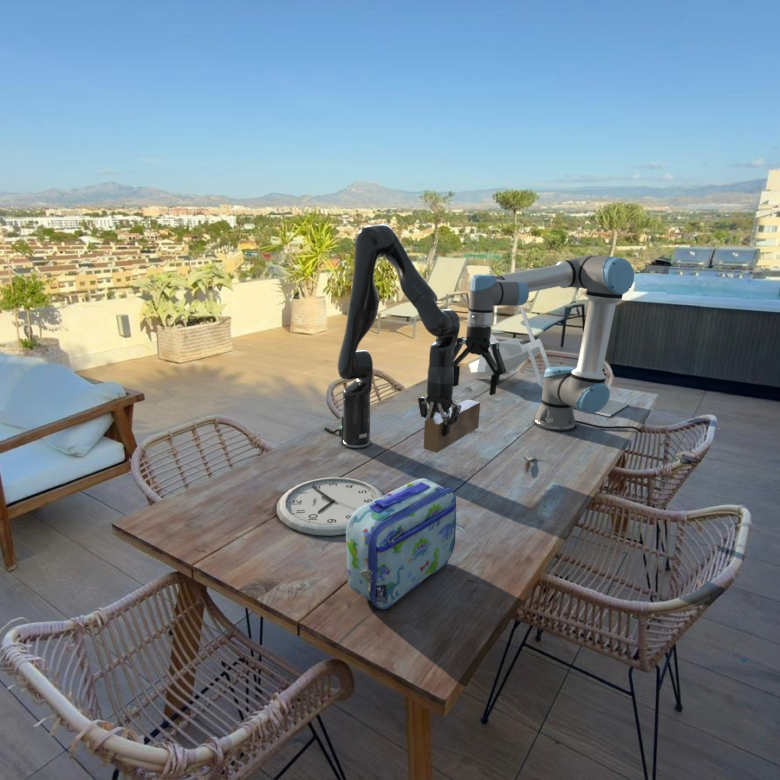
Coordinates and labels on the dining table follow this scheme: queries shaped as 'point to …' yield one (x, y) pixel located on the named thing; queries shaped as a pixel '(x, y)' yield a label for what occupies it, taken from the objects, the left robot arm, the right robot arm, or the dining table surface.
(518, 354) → the white plastic object
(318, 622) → the dining table surface
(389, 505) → the lunch box
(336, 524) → the wall clock
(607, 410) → the invitation card
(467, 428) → the bar
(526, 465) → the fork
